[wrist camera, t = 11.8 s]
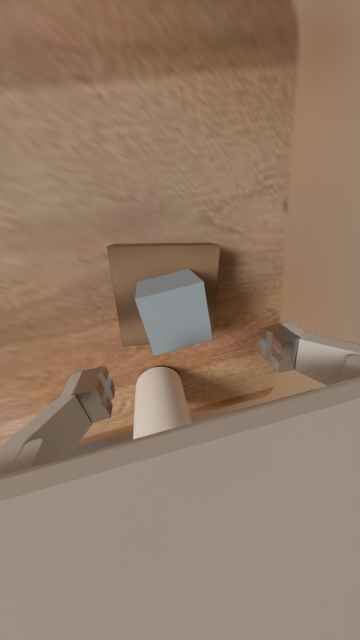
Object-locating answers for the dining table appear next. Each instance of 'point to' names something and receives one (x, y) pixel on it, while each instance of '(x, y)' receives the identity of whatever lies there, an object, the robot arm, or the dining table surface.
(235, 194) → the dining table surface
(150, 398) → the can
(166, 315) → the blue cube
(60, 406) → the robot arm
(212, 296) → the walnut block
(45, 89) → the dining table surface
